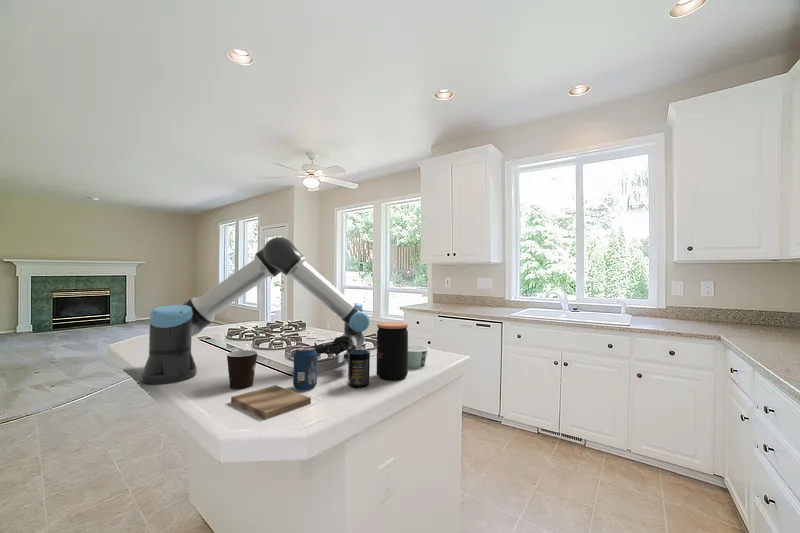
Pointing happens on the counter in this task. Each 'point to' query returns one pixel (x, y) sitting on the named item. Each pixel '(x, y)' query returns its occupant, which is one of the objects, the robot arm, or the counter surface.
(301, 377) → the soda can
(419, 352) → the food container
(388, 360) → the coffee jar
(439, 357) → the counter surface
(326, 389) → the counter surface
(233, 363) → the coffee mug
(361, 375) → the supplement container
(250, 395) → the walnut board
